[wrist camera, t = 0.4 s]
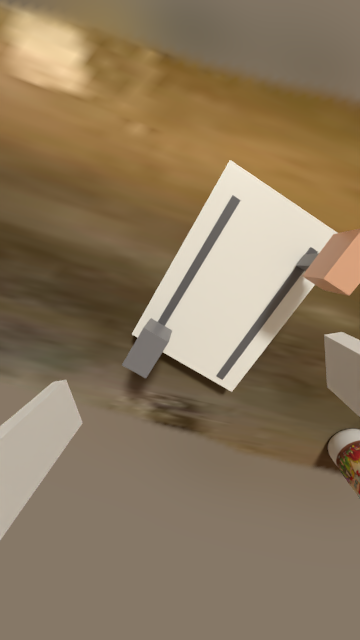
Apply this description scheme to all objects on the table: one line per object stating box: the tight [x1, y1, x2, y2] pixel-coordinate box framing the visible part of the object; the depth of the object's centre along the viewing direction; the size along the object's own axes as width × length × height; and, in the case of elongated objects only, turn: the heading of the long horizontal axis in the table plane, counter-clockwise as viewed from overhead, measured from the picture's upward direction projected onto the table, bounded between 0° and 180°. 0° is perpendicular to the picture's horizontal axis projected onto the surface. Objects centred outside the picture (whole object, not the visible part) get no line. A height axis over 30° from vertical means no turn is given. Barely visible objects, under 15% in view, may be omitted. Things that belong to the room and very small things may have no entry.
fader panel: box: [132, 160, 337, 392], centre depth 31 cm, size 18×26×3 cm
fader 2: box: [296, 229, 360, 295], centre depth 23 cm, size 3×5×9 cm, turn 149°
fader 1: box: [122, 318, 172, 378], centre depth 27 cm, size 3×5×9 cm, turn 149°
